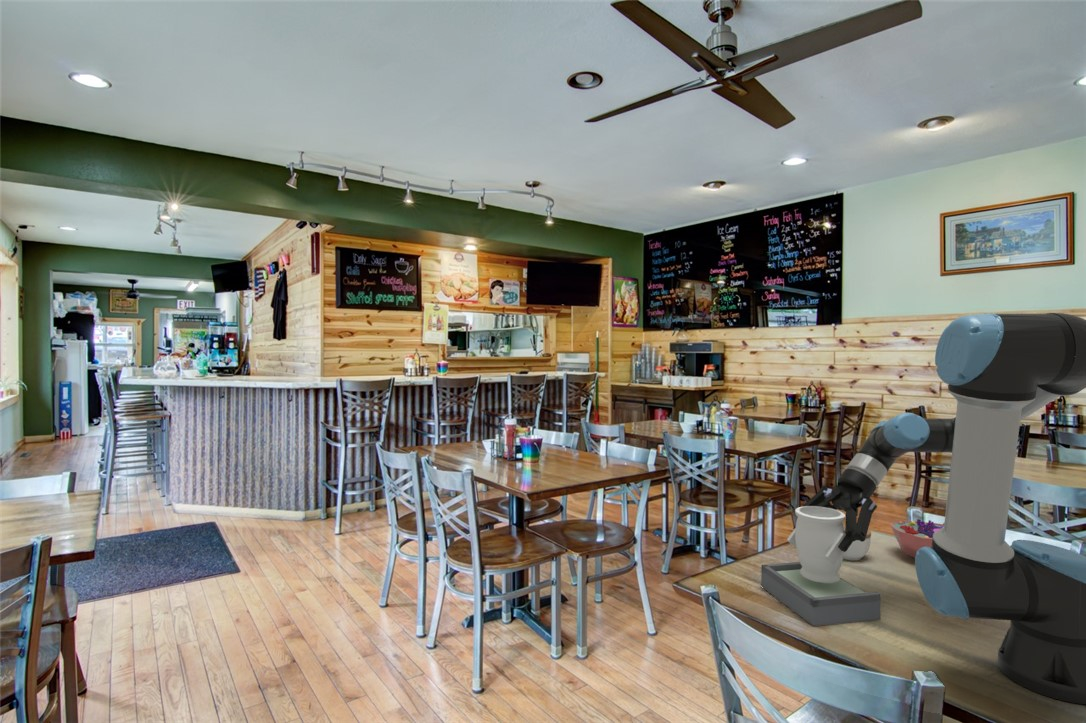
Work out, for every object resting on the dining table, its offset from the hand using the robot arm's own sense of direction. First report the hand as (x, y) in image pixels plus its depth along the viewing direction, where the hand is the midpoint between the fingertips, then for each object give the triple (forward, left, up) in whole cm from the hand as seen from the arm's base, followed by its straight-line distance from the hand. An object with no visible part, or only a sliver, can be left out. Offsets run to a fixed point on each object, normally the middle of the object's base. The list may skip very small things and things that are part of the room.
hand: (809, 551), depth 130 cm
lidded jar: (+25, -29, -12) cm, 40 cm away
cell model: (+18, -49, -12) cm, 54 cm away
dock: (+1, -2, -12) cm, 12 cm away
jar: (+1, -3, -6) cm, 7 cm away
